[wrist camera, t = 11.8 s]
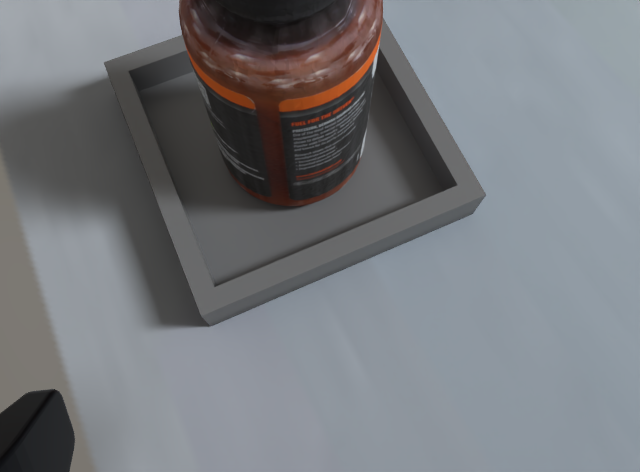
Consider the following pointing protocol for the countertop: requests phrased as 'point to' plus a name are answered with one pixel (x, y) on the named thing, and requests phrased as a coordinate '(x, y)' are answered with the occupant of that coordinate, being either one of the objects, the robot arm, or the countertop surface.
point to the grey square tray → (276, 220)
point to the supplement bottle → (286, 89)
